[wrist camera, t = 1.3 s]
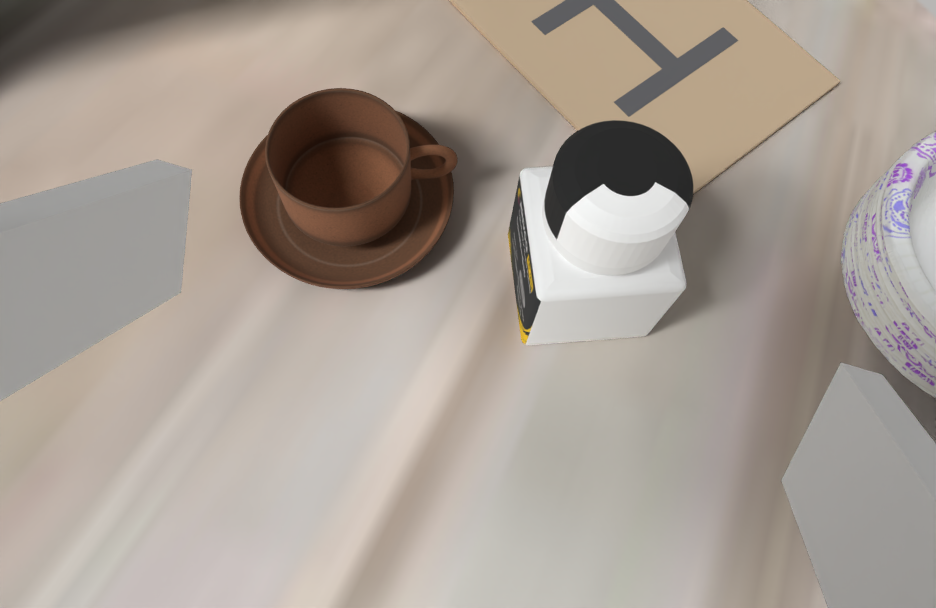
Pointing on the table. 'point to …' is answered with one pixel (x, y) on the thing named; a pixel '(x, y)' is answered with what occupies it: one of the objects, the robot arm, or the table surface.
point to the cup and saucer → (346, 191)
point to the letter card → (660, 68)
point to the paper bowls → (897, 264)
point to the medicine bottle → (599, 235)
